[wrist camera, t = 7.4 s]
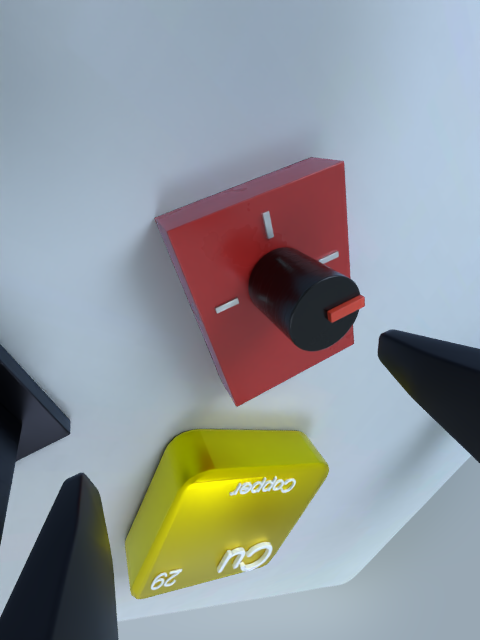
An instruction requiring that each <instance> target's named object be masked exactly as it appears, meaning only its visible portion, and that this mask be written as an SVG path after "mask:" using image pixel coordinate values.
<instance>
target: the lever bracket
mask: <svg viewBox="0 0 480 640" xmlns="http://www.w3.org/2000/svg"><path fill="white" fill-rule="evenodd" d="M69 434H70V420H69V419H68V418H67V417H66V416H65V414H64V413H63V412H62V411H61V410H60V409H59V408H58V407H57V406H56V405H55V404H54V402H53V401H52V400H51V399H50V398H49V397H48V396H47V395H46V394H45V393H44V392H43V390H42V389H41V388H40V387H39V386H38V385H37V384H36V383H35V382H34V381H33V379H32V378H31V377H30V376H29V375H28V374H27V373H26V372H25V371H24V370H23V369H22V367H21V366H20V365H19V364H18V363H17V362H16V361H15V360H14V359H13V358H12V356H11V355H10V354H9V353H8V352H7V351H6V350H5V349H4V348H3V347H2V346H1V344H0V544H1V539H2V533H3V528H4V522H5V517H6V511H7V506H8V500H9V495H10V490H11V484H12V479H13V473H14V468H15V462H16V461H18V460H20V459H22V458H24V457H26V456H28V455H30V454H32V453H34V452H36V451H38V450H40V449H42V448H44V447H46V446H48V445H50V444H52V443H54V442H56V441H58V440H60V439H62V438H64V437H66V436H68V435H69Z"/></svg>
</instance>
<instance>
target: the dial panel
mask: <svg viewBox="0 0 480 640" xmlns="http://www.w3.org/2000/svg"><path fill="white" fill-rule="evenodd" d="M155 221H156V224H157V226H158V228H159V231H160V233H161V236H162V238H163V240H164V243H165V245H166V248H167V250H168V253H169V255H170V257H171V260H172V262H173V265H174V267H175V270H176V272H177V274H178V277H179V279H180V282H181V284H182V286H183V289H184V291H185V294H186V296H187V299H188V301H189V303H190V306H191V308H192V311H193V313H194V316H195V318H196V320H197V323H198V325H199V328H200V330H201V332H202V335H203V337H204V340H205V342H206V345H207V347H208V349H209V352H210V354H211V357H212V359H213V362H214V364H215V366H216V369H217V371H218V374H219V376H220V378H221V381H222V383H223V384H224V386H225V388H226V390H227V391H228V393H229V395H230V396H231V398H232V400H233V402H234V403H235V405H236V406H239V405H241V404H243V403H245V402H247V401H249V400H250V399H252V398H254V397H256V396H258V395H260V394H262V393H263V392H265V391H267V390H269V389H271V388H273V387H275V386H277V385H278V384H280V383H282V382H284V381H286V380H288V379H290V378H291V377H293V376H295V375H297V374H299V373H301V372H303V371H304V370H306V369H308V368H310V367H312V366H314V365H316V364H317V363H319V362H321V361H323V360H325V359H327V358H329V357H330V356H332V355H334V354H336V353H338V352H340V351H342V350H343V349H345V348H347V347H349V346H351V345H353V344H354V335H353V325H352V327H351V328H350V329H349V331H348V332H347V333H346V334H345V335H344V336H343V337H342V338H341V339H340V340H339V341H338V342H336V343H335V344H333V345H332V346H330V347H328V348H326V349H323V350H320V351H305V350H302V349H300V348H298V347H297V346H296V345H295V344H294V343H293V342H292V341H291V340H290V339H289V338H288V337H287V336H286V335H285V334H283V333H282V332H281V331H280V330H279V329H278V328H277V327H276V326H275V325H274V324H273V323H272V322H271V321H270V320H269V319H268V318H267V317H266V316H265V315H264V314H263V313H262V312H261V311H260V310H259V309H258V308H257V307H256V306H255V305H254V304H253V302H252V301H251V299H250V296H249V290H248V284H249V278H250V275H251V272H252V270H253V268H254V267H255V265H256V264H257V262H258V261H259V260H260V259H261V258H262V257H263V256H264V255H265V254H267V253H268V252H270V251H272V250H274V249H277V248H282V247H290V248H294V249H297V250H299V251H300V252H302V253H304V254H306V255H308V256H310V257H311V258H313V259H315V260H317V261H319V262H321V263H323V264H324V265H326V266H328V267H330V268H332V269H334V270H335V271H337V272H339V273H341V274H343V275H345V276H346V277H348V278H350V262H349V243H348V225H347V206H346V188H345V170H344V161H339V160H330V159H322V158H313V157H311V158H308V159H305V160H303V161H300V162H298V163H295V164H293V165H290V166H287V167H285V168H282V169H280V170H277V171H274V172H272V173H269V174H267V175H264V176H261V177H259V178H256V179H254V180H251V181H249V182H246V183H243V184H241V185H238V186H236V187H233V188H230V189H228V190H225V191H223V192H220V193H217V194H215V195H212V196H210V197H207V198H204V199H202V200H199V201H197V202H194V203H192V204H189V205H186V206H184V207H181V208H179V209H176V210H173V211H171V212H168V213H166V214H163V215H160V216H158V217H155Z"/></svg>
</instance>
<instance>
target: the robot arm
mask: <svg viewBox="0 0 480 640" xmlns="http://www.w3.org/2000/svg"><path fill="white" fill-rule="evenodd" d="M378 357H379V359H380V361H381V362H382V364H383V365H384V366H385V367H386V368H387V369H388V371H389V372H390V373H391V374H392V375H393V376H394V378H395V379H396V380H397V381H398V382H399V383H400V385H401V386H402V387H403V388H404V389H405V390H406V392H407V393H408V394H409V395H410V396H411V397H412V398H413V399H414V400H415V401H416V402H417V403H418V404H419V405H420V406H421V407H422V408H423V409H424V410H425V411H426V412H427V413H428V414H429V415H430V416H431V417H432V418H433V419H434V420H435V421H436V422H437V423H439V424H440V425H441V426H442V427H443V428H444V429H445V430H446V431H447V432H448V433H449V434H450V435H451V436H452V437H453V438H454V439H455V440H456V441H457V442H458V443H459V444H460V445H461V446H462V447H463V448H465V449H466V450H467V451H468V452H469V453H470V454H471V455H472V456H473V457H474V458H475V459H476V460H477V461H478V462H479V463H480V349H477V348H473V347H469V346H464V345H460V344H455V343H451V342H447V341H442V340H438V339H433V338H429V337H425V336H420V335H416V334H411V333H407V332H403V331H398V330H389V331H386V332H384V333H382V334H381V335H380V337H379V344H378ZM0 640H118V628H117V613H116V600H115V586H114V573H113V562H112V556H111V550H110V544H109V539H108V534H107V529H106V523H105V518H104V513H103V508H102V502H101V497H100V494H99V491H98V490H97V488H96V487H95V486H94V484H93V483H92V482H91V481H90V479H89V478H88V477H87V476H86V475H85V474H84V473H79V474H77V475H75V476H72V477H70V478H68V479H67V480H65V482H64V483H63V485H62V487H61V489H60V491H59V493H58V495H57V498H56V500H55V502H54V504H53V506H52V508H51V510H50V512H49V515H48V517H47V519H46V521H45V523H44V525H43V527H42V529H41V532H40V534H39V536H38V538H37V540H36V542H35V544H34V547H33V549H32V551H31V553H30V555H29V557H28V559H27V561H26V564H25V566H24V568H23V570H22V572H21V574H20V576H19V579H18V581H17V583H16V585H15V587H14V589H13V591H12V593H11V596H10V598H9V600H8V602H7V604H6V606H5V608H4V610H3V613H2V615H1V617H0Z"/></svg>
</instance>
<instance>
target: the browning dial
mask: <svg viewBox="0 0 480 640" xmlns="http://www.w3.org/2000/svg"><path fill="white" fill-rule="evenodd" d="M248 290H249V296H250V299H251V301H252V302H253V304H254V305H255V306H256V307H257V308H258V309H259V310H260V311H261V312H262V313H263V314H264V315H265V316H266V317H267V318H268V319H269V320H270V321H271V322H272V323H273V324H274V325H275V326H276V327H277V328H278V329H279V330H280V331H281V332H282V333H283V334H285V335H286V336H287V337H288V338H289V339H290V340H291V341H292V342H293V343H294V344H295V345H296V346H297V347H298V348H300V349H302V350H305V351H320V350H323V349H326V348H328V347H330V346H332V345H333V344H335V343H336V342H338V341H339V340H340V339H341V338H342V337H343V336H344V335H345V334H346V333H347V332H348V331H349V329H350V328H351V327H352V325H353V323H354V322H355V320H356V317H357V315H358V312H359V309H360V308H362V307H364V306H365V297H364V296H362V295H360V292H359V289H358V287H357V285H356V284H355V282H354V281H353V280H351V279H350V278H348V277H346V276H345V275H343V274H341V273H339V272H337V271H335V270H334V269H332V268H330V267H328V266H326V265H324V264H323V263H321V262H319V261H317V260H315V259H313V258H311V257H310V256H308V255H306V254H304V253H302V252H300V251H299V250H297V249H294V248H290V247H282V248H277V249H274V250H272V251H270V252H268V253H267V254H265V255H264V256H263V257H262V258H261V259H260V260H259V261H258V262H257V264H256V265H255V267H254V268H253V270H252V272H251V275H250V278H249V284H248Z"/></svg>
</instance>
